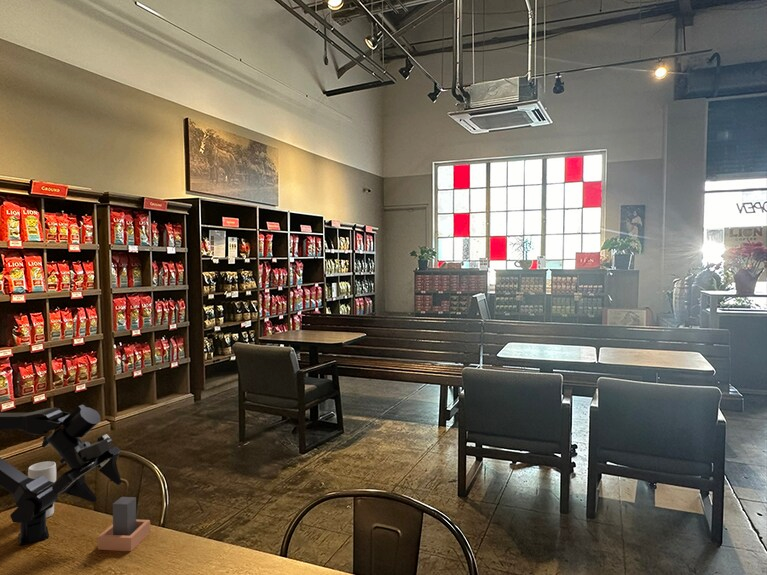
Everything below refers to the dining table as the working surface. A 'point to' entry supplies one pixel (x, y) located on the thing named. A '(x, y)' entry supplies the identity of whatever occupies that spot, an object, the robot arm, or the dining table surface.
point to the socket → (123, 537)
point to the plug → (124, 516)
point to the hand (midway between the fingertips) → (108, 492)
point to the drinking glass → (44, 470)
